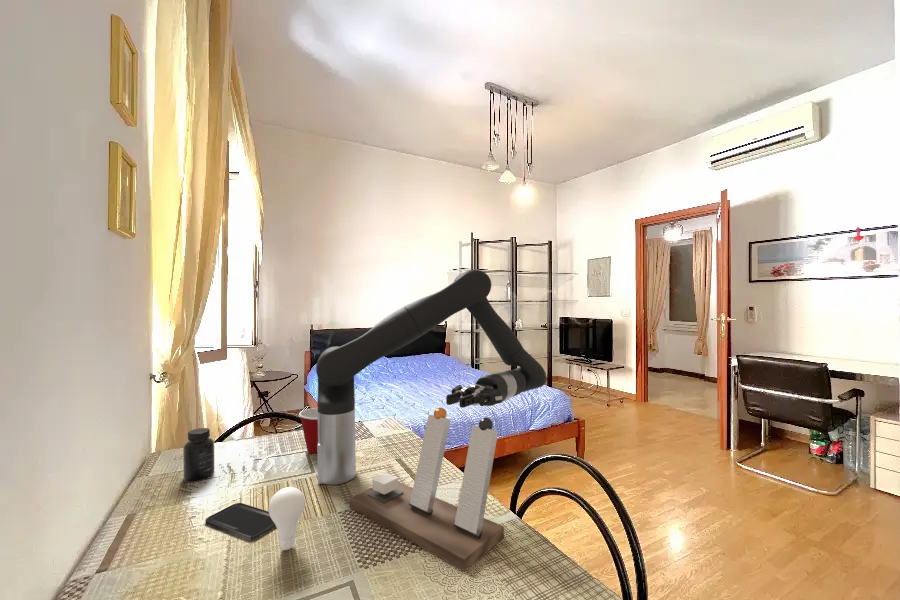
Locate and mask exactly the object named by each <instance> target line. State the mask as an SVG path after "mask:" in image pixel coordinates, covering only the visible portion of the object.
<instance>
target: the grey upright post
mask: <svg viewBox="0 0 900 600" xmlns="http://www.w3.org/2000/svg"><path fill="white" fill-rule="evenodd" d="M493 428H494V422H493V420H492V419H491V418H489V417H488V416H487V417H482V418H481V419H480V420H479V422H478V425H474V424H473V425H472V427H471V432H470V433H471V434H470V437H469V438H470V439H469V443H468V449H467V455H466V458H465V459H466V460H465V466H464V471H463V475H462V476H463V477H462V482H461V487H460V493H459V497H458V502H457V504H458V505H457V507H458V508H457V513H456V519H455V522H454V527H456V528H458V529H460V530H462V531H465V532H467V533H469V534H471V535H473V536H475V537H477V538H480V537H481V535H482V525H483V519H484V518H485V511H486V506H487V501H488V500H487V499H488V495H489V489H490V482H491V475H492V470H493V463H494V457H495V452H496V445H497V442H498V441H497V439H498V433H499V430H495V429H493Z"/></svg>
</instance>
